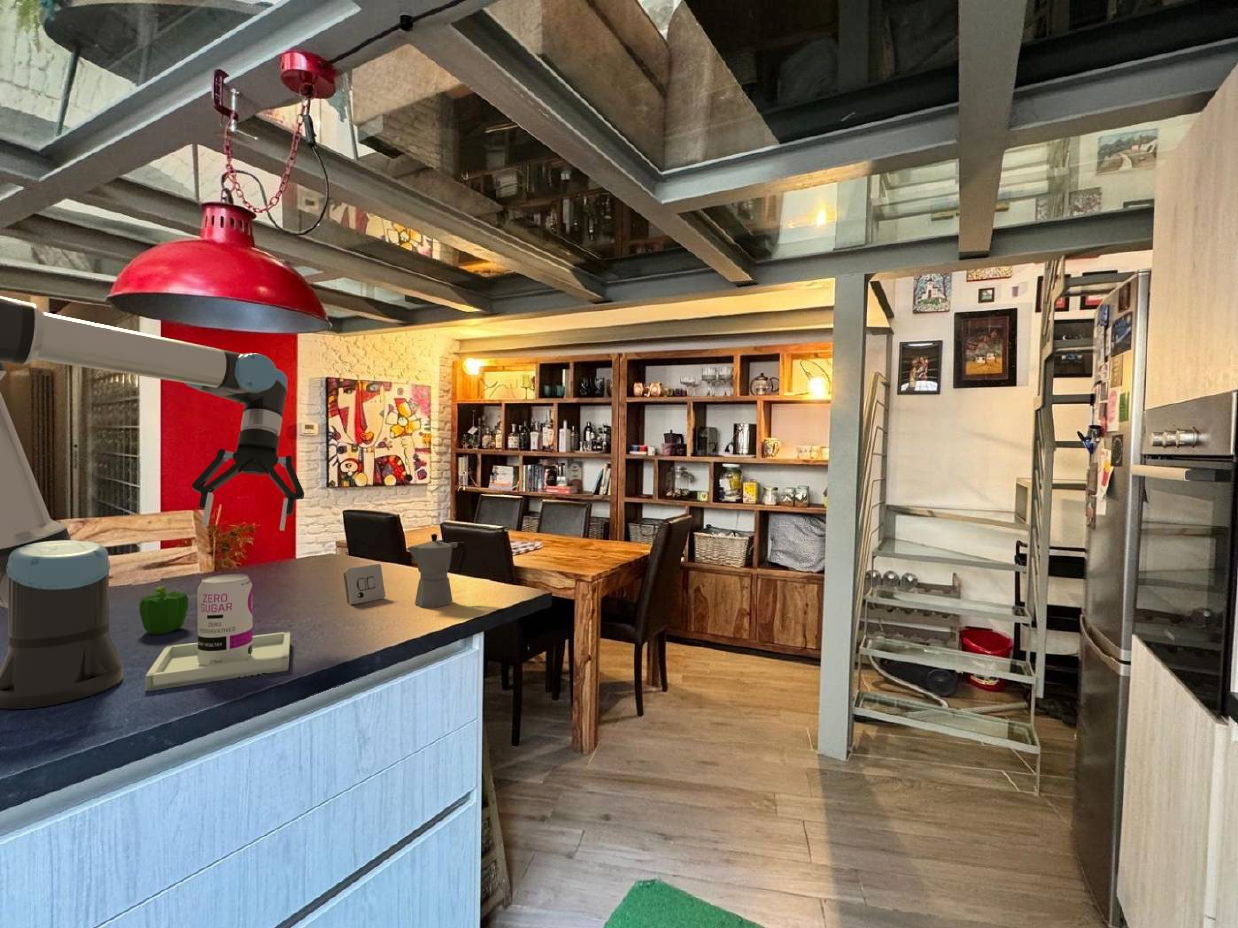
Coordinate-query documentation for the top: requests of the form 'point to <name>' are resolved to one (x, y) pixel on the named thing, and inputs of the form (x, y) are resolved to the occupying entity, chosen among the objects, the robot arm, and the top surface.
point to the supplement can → (224, 619)
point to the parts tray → (184, 669)
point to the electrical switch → (364, 584)
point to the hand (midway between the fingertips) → (244, 527)
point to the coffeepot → (436, 571)
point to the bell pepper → (163, 611)
